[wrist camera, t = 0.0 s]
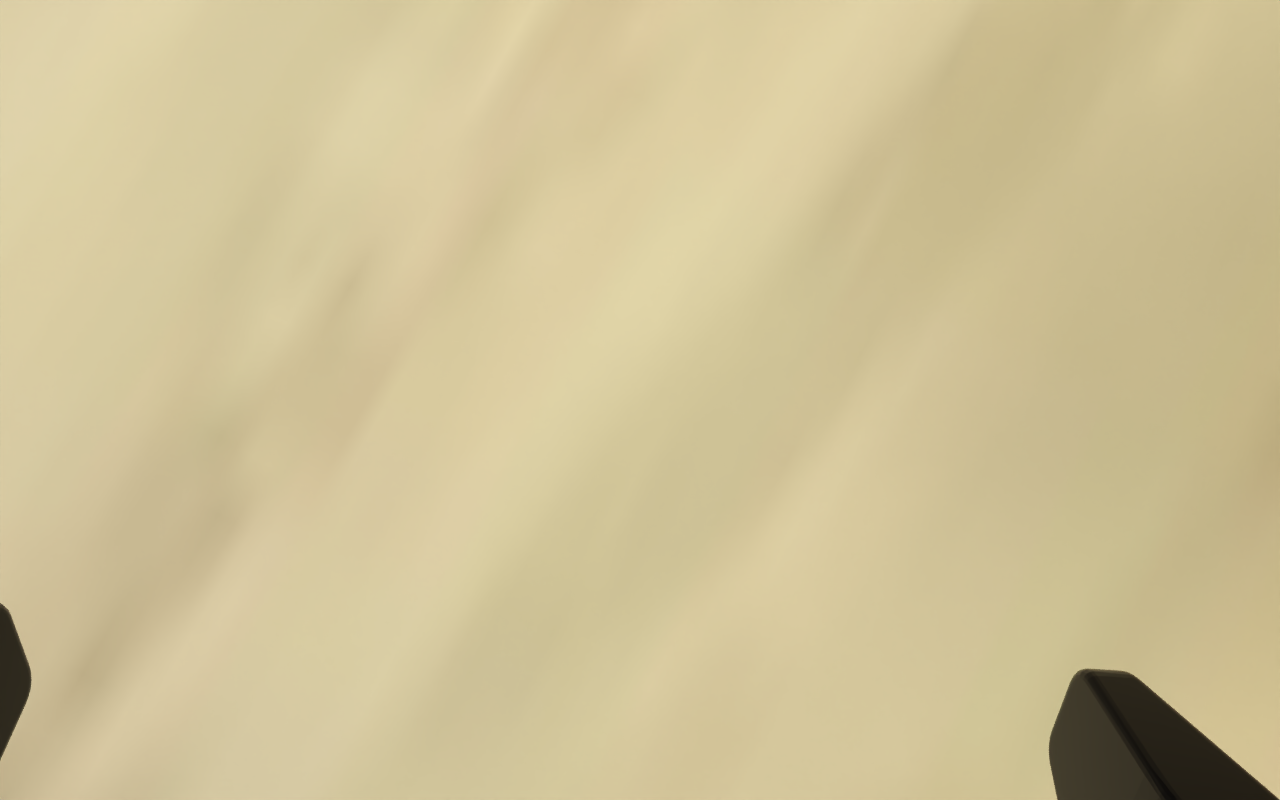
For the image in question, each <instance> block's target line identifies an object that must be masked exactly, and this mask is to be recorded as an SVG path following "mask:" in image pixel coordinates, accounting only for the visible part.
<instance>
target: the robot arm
mask: <svg viewBox="0 0 1280 800" xmlns="http://www.w3.org/2000/svg"><path fill="white" fill-rule="evenodd" d="M30 688H31V670H30V666H29V663H28V661H27V658H26V655H25V653H24V650H23V647H22V644H21V642H20V639H19V636H18V633H17V631H16V628H15V625H14V622H13V620H12V617H11V614H10V612H9V610H8V609H7V608H6V607H5V606H3V605H2V604H1V603H0V760H1V757H2V755H3V753H4V751H5V749H6V746H7V744H8V742H9V740H10V737H11V735H12V733H13V731H14V729H15V726H16V724H17V722H18V720H19V717H20V715H21V713H22V711H23V709H24V706H25V704H26V702H27V699H28V696H29V692H30ZM1049 759H1050V766H1051V771H1052V775H1053V780H1054V785H1055V790H1056V795H1057V799H1058V800H1279V799H1278V798H1277V797H1276V796H1275V795H1274V794H1272V793H1271V792H1270V791H1269V790H1268V789H1267V788H1265V787H1264V786H1263V785H1262V784H1261V783H1260V782H1258V781H1257V780H1256V779H1255V778H1254V777H1253V776H1251V775H1250V774H1249V773H1248V772H1247V771H1246V770H1244V769H1243V768H1242V767H1241V766H1240V765H1239V764H1237V763H1236V762H1235V761H1234V760H1233V759H1232V758H1230V757H1229V756H1228V755H1227V754H1226V753H1225V752H1223V751H1222V750H1221V749H1220V748H1219V747H1218V746H1216V745H1215V744H1214V743H1213V742H1212V741H1211V740H1209V739H1208V738H1207V737H1206V736H1205V735H1204V734H1202V733H1201V732H1200V731H1199V730H1198V729H1197V728H1195V727H1194V726H1193V725H1192V724H1191V723H1190V722H1188V721H1187V720H1186V719H1185V718H1184V717H1183V716H1181V715H1180V714H1179V713H1178V712H1177V711H1176V710H1174V709H1173V708H1172V707H1171V706H1170V705H1169V704H1167V703H1166V702H1165V701H1164V700H1163V699H1162V698H1160V697H1159V696H1158V695H1157V694H1156V693H1155V692H1153V691H1152V690H1151V689H1150V688H1149V687H1148V686H1146V685H1145V684H1144V683H1143V682H1142V681H1141V680H1139V679H1138V678H1137V677H1135V676H1134V675H1132V674H1130V673H1128V672H1124V671H1116V670H1100V669H1083V670H1080V671H1078V672H1077V673H1076V674H1075V675H1074V676H1073V678H1072V680H1071V682H1070V685H1069V687H1068V690H1067V692H1066V695H1065V698H1064V700H1063V703H1062V706H1061V708H1060V711H1059V713H1058V716H1057V719H1056V721H1055V724H1054V727H1053V729H1052V732H1051V736H1050V742H1049Z"/></svg>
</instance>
